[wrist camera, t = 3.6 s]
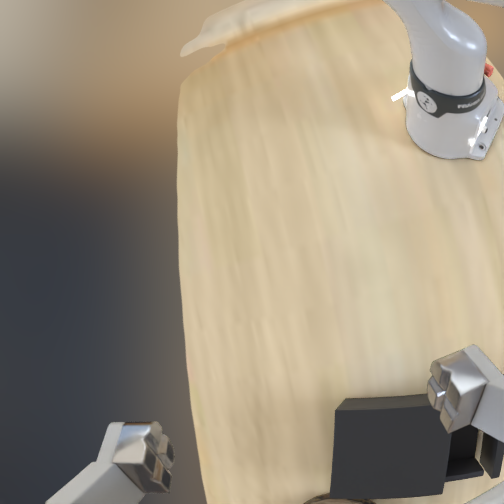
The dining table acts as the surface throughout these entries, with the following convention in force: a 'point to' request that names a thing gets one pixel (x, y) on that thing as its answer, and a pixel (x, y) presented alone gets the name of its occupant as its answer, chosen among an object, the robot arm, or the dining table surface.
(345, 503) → the round wood slice
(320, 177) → the dining table surface
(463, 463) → the drawer
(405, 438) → the cabinet
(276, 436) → the dining table surface
